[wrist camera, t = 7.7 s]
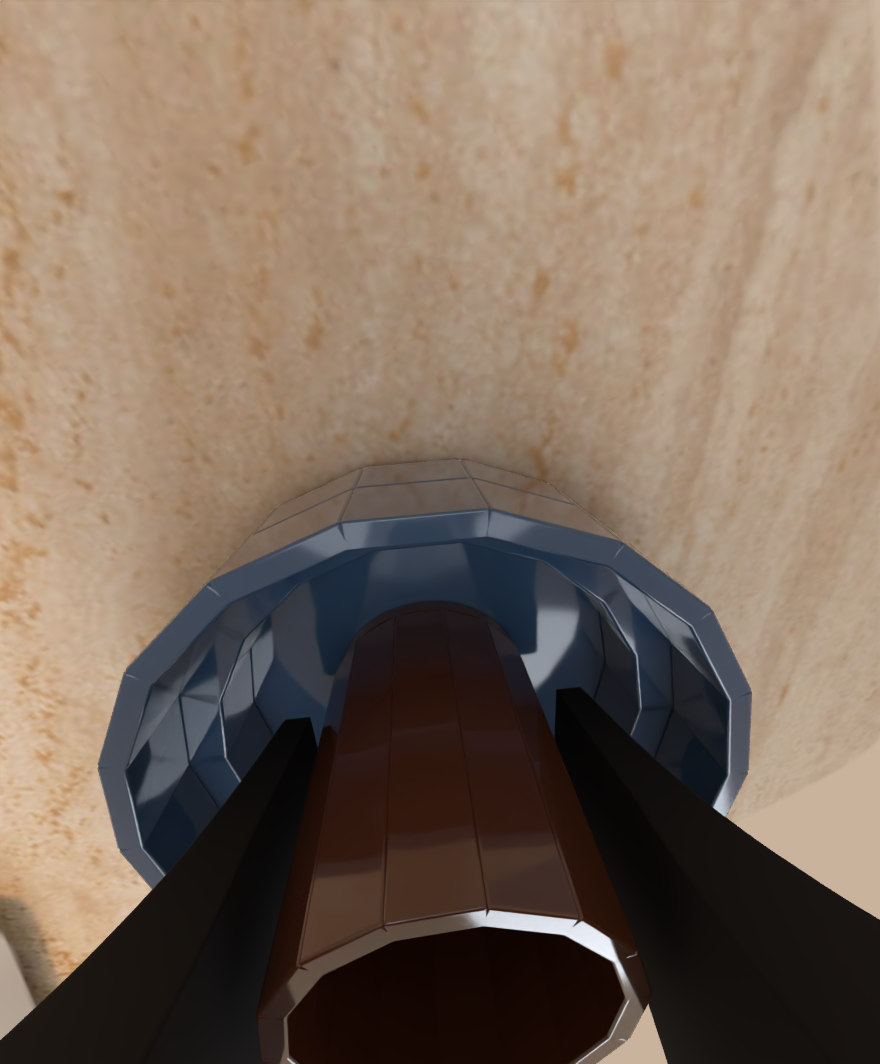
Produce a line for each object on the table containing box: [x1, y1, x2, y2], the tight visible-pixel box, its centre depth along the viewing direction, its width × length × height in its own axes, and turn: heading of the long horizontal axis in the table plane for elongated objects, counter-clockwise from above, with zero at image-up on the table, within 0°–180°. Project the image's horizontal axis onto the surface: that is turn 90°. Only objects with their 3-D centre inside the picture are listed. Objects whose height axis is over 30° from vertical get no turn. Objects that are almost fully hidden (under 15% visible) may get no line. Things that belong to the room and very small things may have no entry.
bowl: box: [98, 459, 752, 889], centre depth 11 cm, size 13×13×4 cm
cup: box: [256, 601, 652, 1064], centre depth 9 cm, size 5×6×7 cm
